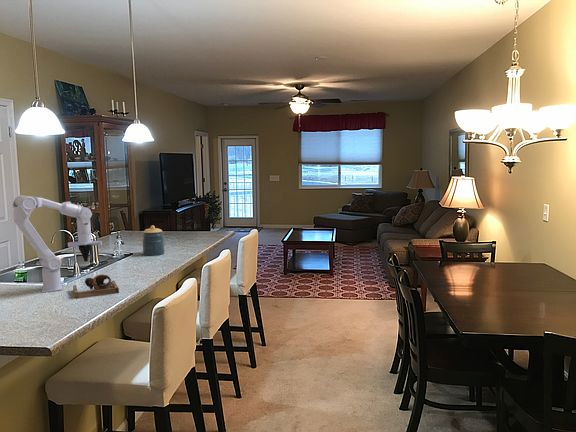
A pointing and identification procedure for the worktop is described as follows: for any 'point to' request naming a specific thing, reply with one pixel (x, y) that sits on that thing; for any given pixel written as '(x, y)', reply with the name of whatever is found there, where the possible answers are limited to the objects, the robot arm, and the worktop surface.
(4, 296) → the worktop surface
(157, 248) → the canister
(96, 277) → the pottery mug
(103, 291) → the corral
